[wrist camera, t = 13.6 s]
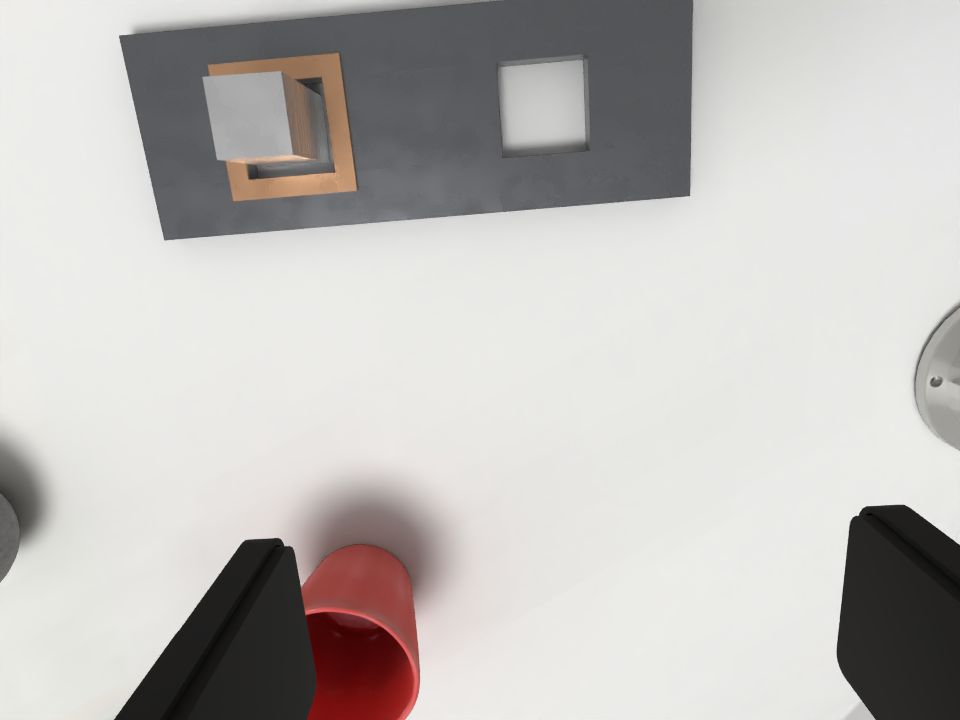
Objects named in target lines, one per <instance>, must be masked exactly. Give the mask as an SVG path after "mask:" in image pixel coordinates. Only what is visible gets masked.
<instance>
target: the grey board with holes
mask: <svg viewBox="0 0 960 720" xmlns="http://www.w3.org/2000/svg"><path fill="white" fill-rule="evenodd" d="M692 14H693V0H504V1H493V2H482V3H471V4H460V5H449V6H439V7H428V8H417V9H406V10H395V11H384V12H373V13H362V14H351V15H340V16H329V17H318V18H307V19H296V20H285V21H274V22H263V23H252V24H241V25H230V26H220V27H209V28H198V29H187V30H176V31H165V32H154V33H143V34H132V35H121V36H119V38H120V43H121V47H122V52H123V56H124V61H125V65H126V70H127V74H128V79H129V83H130V88H131V92H132V97H133V101H134V106H135V110H136V115H137V119H138V124H139V128H140V133H141V137H142V142H143V146H144V151H145V155H146V160H147V164H148V169H149V173H150V178H151V182H152V187H153V191H154V196H155V200H156V205H157V209H158V214H159V218H160V223H161V227H162V232H163V236H164V240H174V239H186V238H197V237H209V236H221V235H233V234H245V233H257V232H269V231H281V230H292V229H304V228H316V227H328V226H340V225H352V224H364V223H376V222H388V221H399V220H411V219H423V218H435V217H447V216H459V215H471V214H483V213H495V212H506V211H518V210H530V209H542V208H554V207H566V206H578V205H590V204H602V203H613V202H625V201H637V200H649V199H661V198H673V197H685V196H690V159H691V86H692ZM572 60H583V67H584V99H585V131H586V151H582V152H570V153H558V154H547V155H535V156H523V157H512V158H503V157H502V142H501V127H500V112H499V98H498V83H497V68H496V67H505V66H516V65H527V64H538V63H550V62H561V61H572ZM276 71H282V72H283V73H285V74H286V75H288V76H290V77H291V78H293V79H294V80H296V81H298V82H299V83H301V84H302V85H303V84H314V83H323V88H324V95H325V102H326V109H327V116H328V123H329V131H330V138H331V145H332V152H333V159H334V166H335V172H334V173H323V174H311V175H299V176H288V177H276V178H264V179H258V173H257V168H256V165H252V164H244V163H236V162H228V161H221V160H217V157H216V151H215V146H214V140H213V134H212V129H211V123H210V117H209V112H208V106H207V100H206V95H205V89H204V83H203V78H202V77H207V76H221V75H234V74H248V73H262V72H276Z"/></svg>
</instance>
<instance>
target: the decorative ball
mask: <svg viewBox="0 0 960 720" xmlns="http://www.w3.org/2000/svg"><path fill="white" fill-rule="evenodd" d="M19 541H20V528H19V522H18V518H17V516H16V514H15V511H14V509H13V508H12V506H11V504H10V503H9V502H8V501H7V499H6V498H5V497H4V496H3V495H2V494H1V493H0V582H1V581H2V580H3V579H4V577H5V576H6V575H7V573H8V572H9V570H10V568H11V566H12V564H13V562H14V560H15V558H16V555H17V552H18V548H19Z"/></svg>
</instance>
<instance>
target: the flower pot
mask: <svg viewBox="0 0 960 720" xmlns="http://www.w3.org/2000/svg"><path fill="white" fill-rule="evenodd" d="M301 592H302V597H303V603H304V608H305V614H306V620H307V625H308V631H309V637H310V642H311V648H312V654H313V659H314V665H315V670H316V692H315V697H314V701H313V704H312V706H311V709H310V712H309V715H308V718H307V720H405V719H406V718H407V717H408V715H409V714H410V712H411V711H412V709H413V707H414V705H415V703H416V700H417V697H418V693H419V686H420V666H419V652H418V641H417V630H416V620H415V611H414V603H413V595H412V587H411V581H410V578H409V575H408V572H407V570H406V569H405V567H404V566H403V564H402V563H401V562H400V561H399V560H398V559H396V558H395V557H394V556H393V555H392V554H390V553H389V552H387V551H385V550H383V549H381V548H378V547H375V546H370V545H351V546H346V547H343V548H340V549H338V550H336V551H334V552H333V553H331V554H330V555H328V556H327V557H326V558H325V559H324V560H323V561H322V562H321V564H320V565H319V566H318V567H317V568H316V570H315V571H314V572H313V573H312V574H311V576H310V577H309V578H308V579H307V581H306V582H305V583H304V585H303V586H302V587H301Z"/></svg>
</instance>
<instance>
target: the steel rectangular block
mask: <svg viewBox="0 0 960 720" xmlns="http://www.w3.org/2000/svg"><path fill="white" fill-rule="evenodd" d="M202 78H203V83H204V89H205V95H206V100H207V106H208V112H209V117H210V123H211V129H212V134H213V140H214V146H215V151H216V157H217V160H221V161H228V162H236V163H244V164H252V165H259V166H267V167H273V166H287V165H301V164H316V163H330V160H329V152H328V144H327V136H326V128H325V121H324V113H323V105H322V97H321V96H320V95H319V94H317V93H315V92H314V91H312V90H310V89H309V88H307V87H306V86H304V85H302V84H301V83H299V82H298V81H296V80H294V79H293V78H291V77H290V76H288V75H286V74H285V73H283V72H282V71H276V72H262V73H248V74H234V75H221V76H207V77H202Z"/></svg>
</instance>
